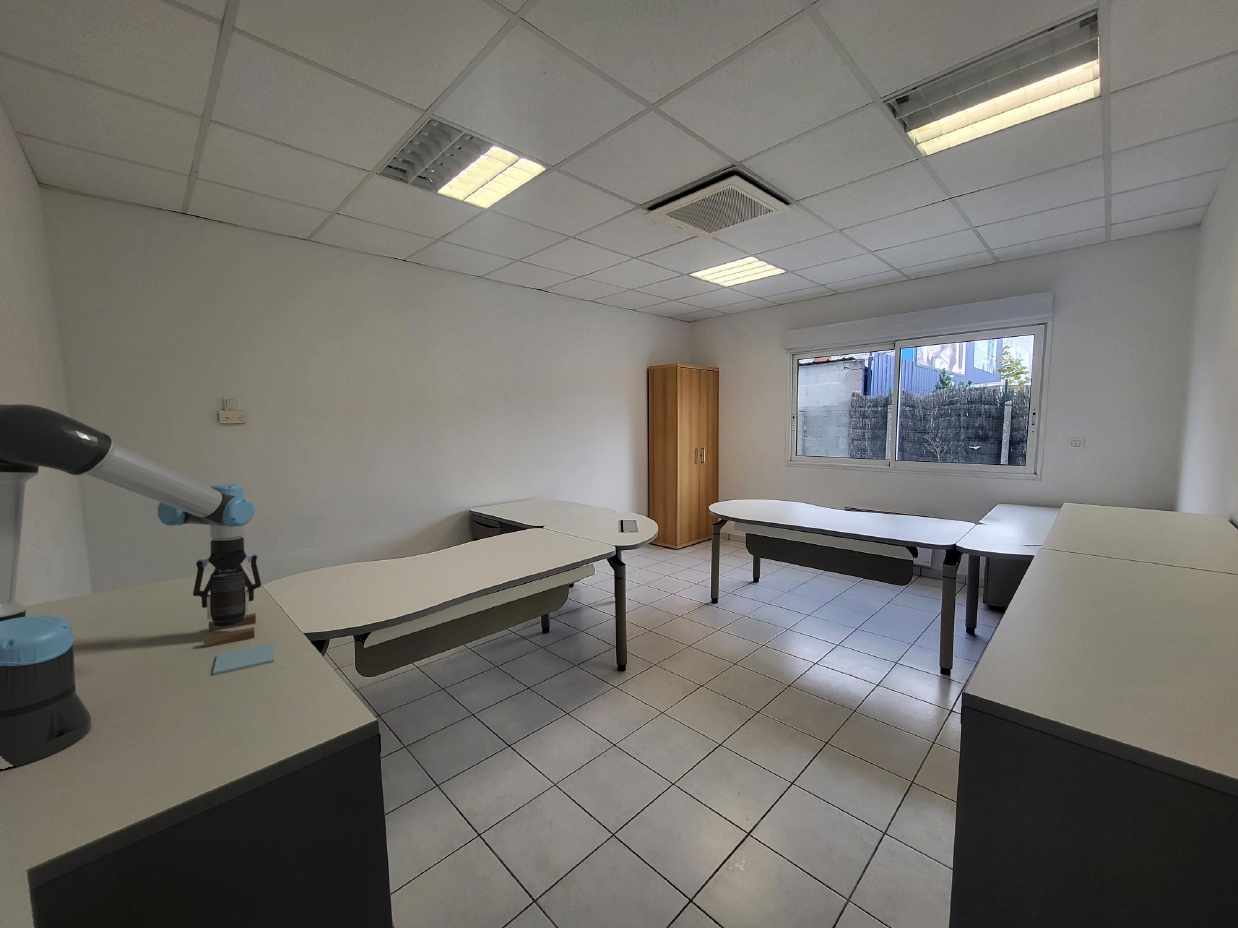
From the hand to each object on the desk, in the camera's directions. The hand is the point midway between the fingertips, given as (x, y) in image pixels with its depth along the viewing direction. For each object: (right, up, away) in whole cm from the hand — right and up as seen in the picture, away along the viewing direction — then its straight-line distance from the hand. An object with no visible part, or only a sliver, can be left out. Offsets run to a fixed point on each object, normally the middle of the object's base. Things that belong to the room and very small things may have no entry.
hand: (228, 614), depth 138 cm
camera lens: (0, -3, 0) cm, 3 cm away
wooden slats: (0, -6, +1) cm, 6 cm away
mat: (+16, -7, -14) cm, 23 cm away
